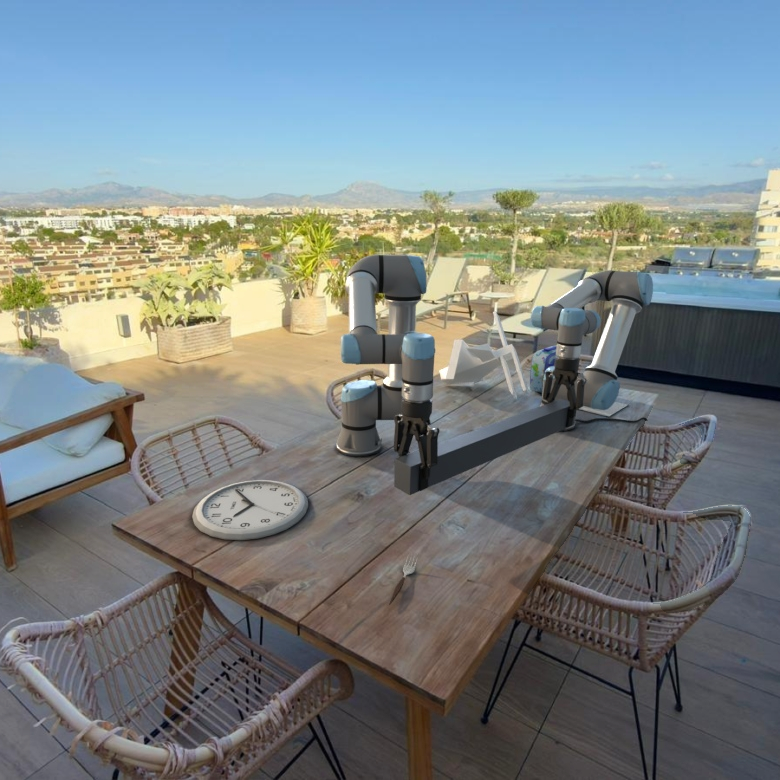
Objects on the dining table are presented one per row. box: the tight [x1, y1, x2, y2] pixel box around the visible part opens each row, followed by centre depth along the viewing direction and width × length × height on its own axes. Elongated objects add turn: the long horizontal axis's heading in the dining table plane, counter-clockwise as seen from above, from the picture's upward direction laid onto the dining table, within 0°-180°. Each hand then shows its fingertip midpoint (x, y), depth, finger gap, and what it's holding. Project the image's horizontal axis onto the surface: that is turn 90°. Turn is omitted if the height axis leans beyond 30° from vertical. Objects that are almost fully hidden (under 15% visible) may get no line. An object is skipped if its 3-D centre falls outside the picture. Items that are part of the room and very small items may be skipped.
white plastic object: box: [438, 310, 531, 400], centre depth 245 cm, size 37×45×31 cm
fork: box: [388, 554, 419, 606], centre depth 112 cm, size 3×16×2 cm, turn 160°
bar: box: [393, 399, 576, 496], centre depth 153 cm, size 76×6×8 cm, turn 131°
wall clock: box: [191, 479, 309, 541], centre depth 140 cm, size 30×2×30 cm
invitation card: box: [578, 401, 629, 418], centre depth 226 cm, size 21×1×15 cm
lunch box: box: [529, 344, 557, 394], centre depth 245 cm, size 26×11×21 cm, turn 134°
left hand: (413, 483), depth 133 cm, fingers closed on bar, 6 cm apart
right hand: (559, 423), depth 176 cm, fingers closed on bar, 6 cm apart
